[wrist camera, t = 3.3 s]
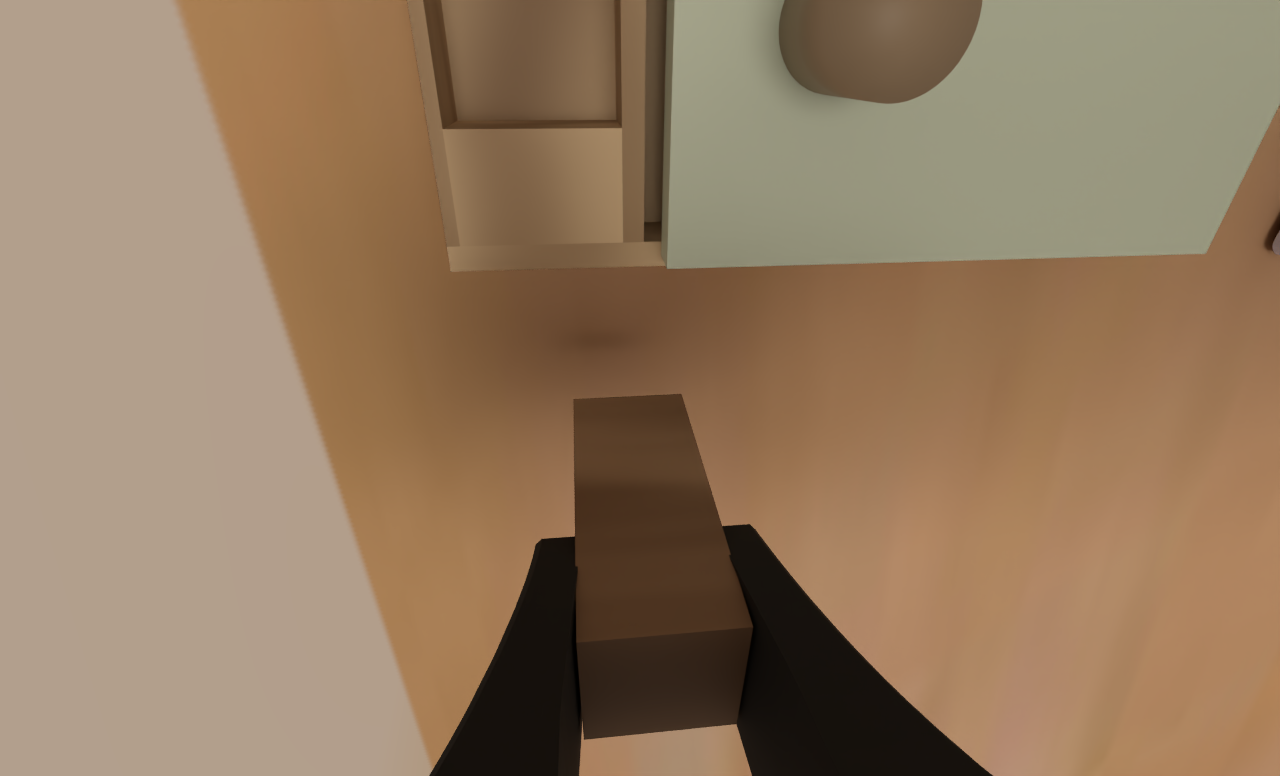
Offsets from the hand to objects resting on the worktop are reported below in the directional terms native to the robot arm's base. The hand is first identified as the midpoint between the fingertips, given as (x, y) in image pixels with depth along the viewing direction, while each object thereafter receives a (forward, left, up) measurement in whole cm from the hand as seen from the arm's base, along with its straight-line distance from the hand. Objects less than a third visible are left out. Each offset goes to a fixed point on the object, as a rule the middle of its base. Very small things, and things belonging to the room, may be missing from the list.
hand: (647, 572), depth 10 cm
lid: (-8, -8, -6) cm, 13 cm away
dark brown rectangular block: (0, 0, -4) cm, 4 cm away
